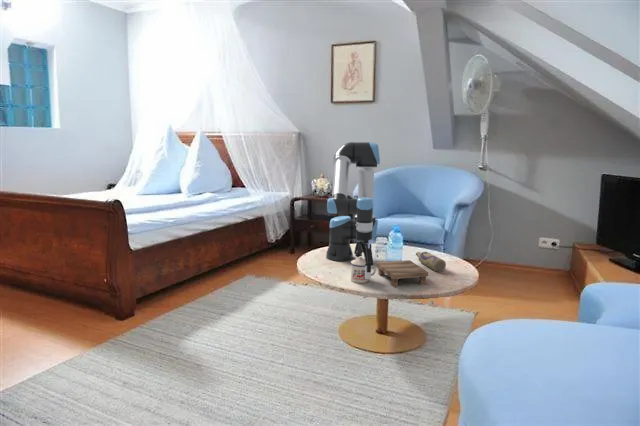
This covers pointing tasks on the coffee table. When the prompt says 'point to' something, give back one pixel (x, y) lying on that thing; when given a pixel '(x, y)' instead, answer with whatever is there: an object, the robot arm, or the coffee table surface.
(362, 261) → the teacup with lid
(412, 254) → the coffee table surface
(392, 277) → the walnut stand
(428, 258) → the decorative bottle
